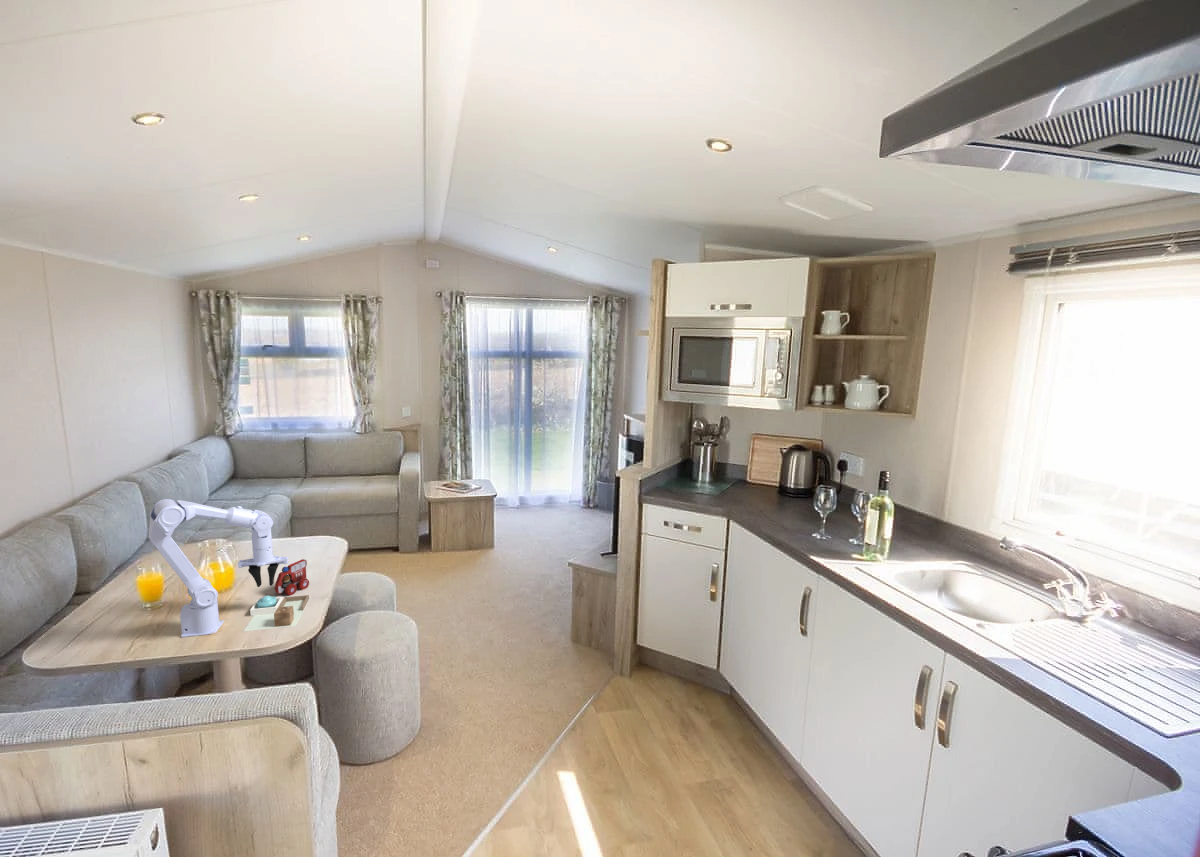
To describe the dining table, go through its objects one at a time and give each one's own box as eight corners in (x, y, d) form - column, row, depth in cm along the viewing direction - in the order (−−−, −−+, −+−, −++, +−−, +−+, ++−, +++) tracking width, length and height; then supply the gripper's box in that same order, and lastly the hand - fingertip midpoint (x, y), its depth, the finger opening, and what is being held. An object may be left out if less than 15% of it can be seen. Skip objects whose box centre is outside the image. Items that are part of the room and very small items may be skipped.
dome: (255, 610, 185) (254, 600, 185) (260, 603, 191) (259, 593, 190) (273, 609, 187) (273, 599, 186) (278, 601, 192) (277, 591, 191)
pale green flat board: (240, 633, 175) (239, 625, 174) (260, 603, 194) (259, 596, 193) (295, 627, 179) (295, 619, 178) (310, 599, 198) (309, 592, 197)
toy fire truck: (269, 595, 200) (267, 568, 198) (300, 582, 211) (298, 556, 210) (283, 599, 197) (281, 572, 196) (313, 585, 209) (311, 559, 207)
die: (274, 626, 178) (273, 613, 177) (278, 620, 182) (277, 606, 181) (291, 625, 179) (290, 611, 178) (294, 618, 183) (293, 605, 183)
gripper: (233, 553, 179) (237, 592, 182) (283, 549, 183) (286, 588, 186) (240, 545, 186) (244, 583, 188) (289, 542, 190) (291, 579, 192)
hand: (265, 585), depth 187 cm, fingers open, 3 cm apart
